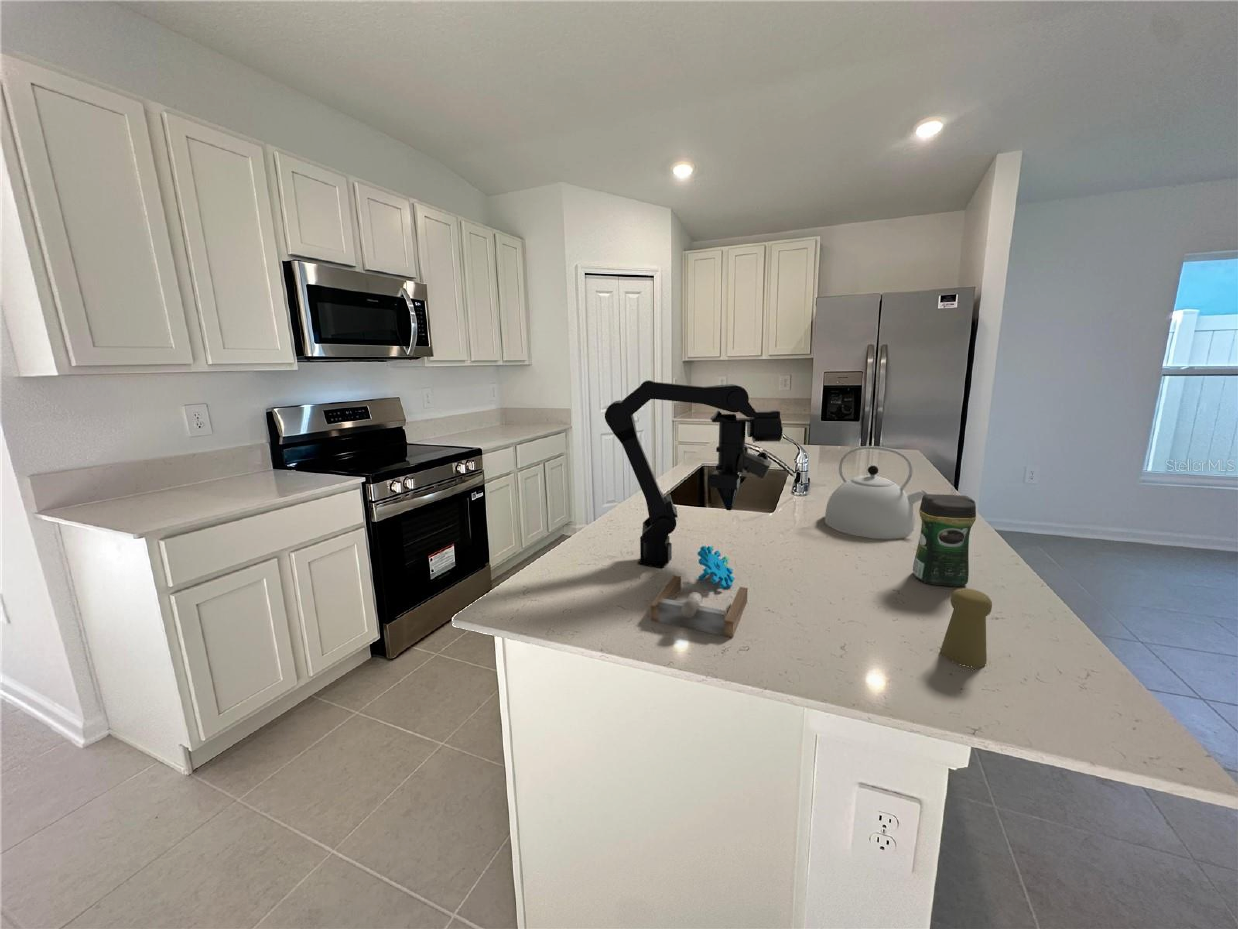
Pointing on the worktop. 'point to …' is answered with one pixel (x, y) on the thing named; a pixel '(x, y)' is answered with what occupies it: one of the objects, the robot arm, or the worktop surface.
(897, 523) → the kettle
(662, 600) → the cradle
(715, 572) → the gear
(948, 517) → the coffee jar
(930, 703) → the worktop surface
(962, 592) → the cork
